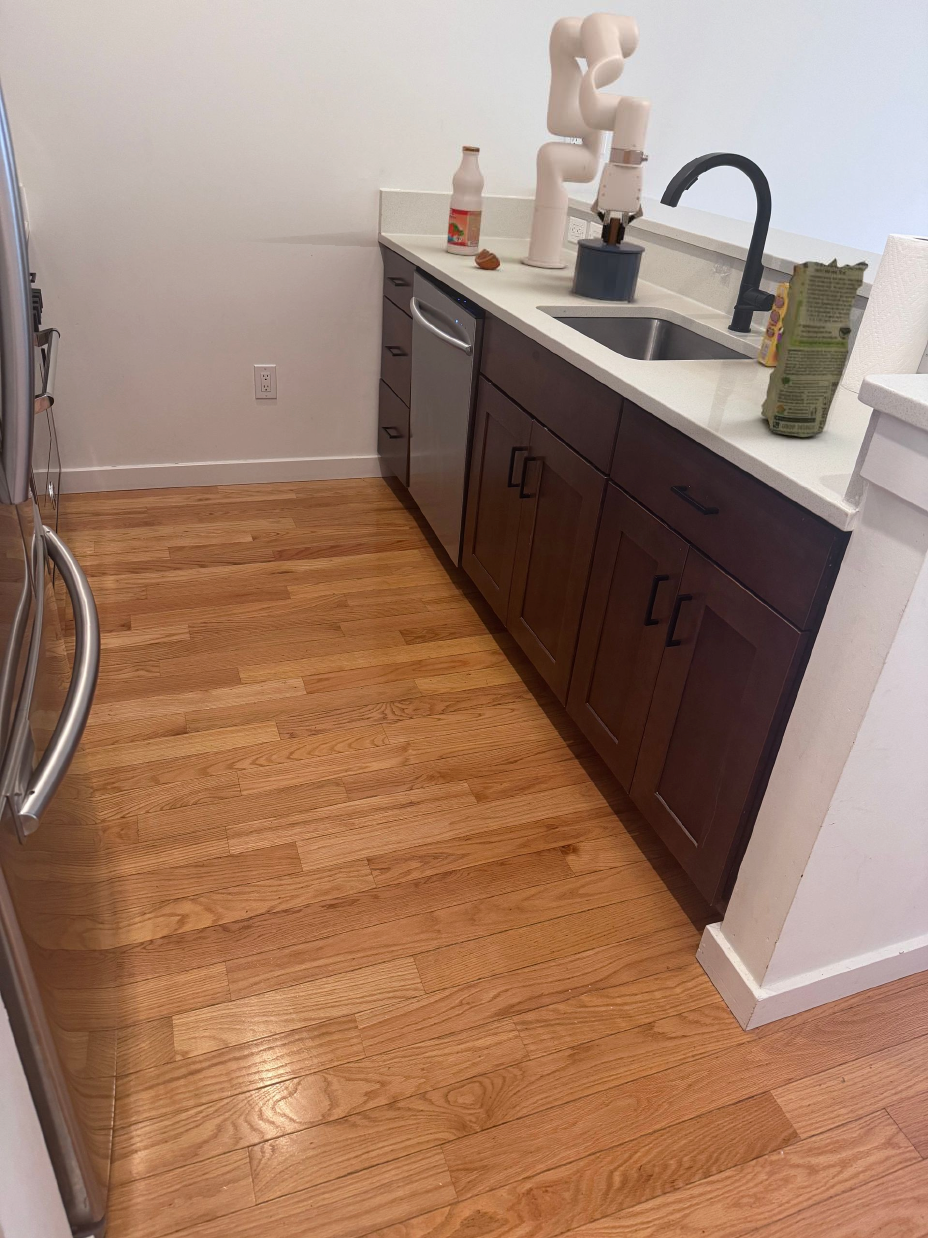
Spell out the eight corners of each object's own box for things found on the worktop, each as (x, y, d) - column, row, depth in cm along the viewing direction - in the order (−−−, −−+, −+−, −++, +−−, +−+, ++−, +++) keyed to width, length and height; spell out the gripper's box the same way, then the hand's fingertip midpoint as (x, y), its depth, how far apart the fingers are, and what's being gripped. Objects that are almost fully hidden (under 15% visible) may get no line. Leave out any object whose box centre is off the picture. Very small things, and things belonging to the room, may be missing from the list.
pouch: (748, 430, 135) (795, 257, 122) (755, 410, 144) (798, 248, 132) (823, 445, 132) (879, 269, 119) (825, 424, 141) (876, 259, 129)
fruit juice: (480, 256, 258) (490, 149, 244) (448, 254, 257) (457, 146, 242) (474, 251, 266) (484, 147, 252) (444, 248, 264) (452, 143, 250)
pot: (568, 287, 227) (575, 240, 221) (628, 293, 228) (637, 246, 222) (574, 299, 214) (582, 249, 208) (638, 306, 214) (647, 255, 208)
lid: (573, 241, 222) (578, 210, 218) (638, 247, 222) (643, 217, 219) (580, 251, 208) (585, 217, 204) (649, 258, 208) (655, 225, 205)
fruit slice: (503, 273, 236) (505, 254, 234) (480, 272, 234) (482, 252, 232) (492, 267, 243) (494, 248, 240) (470, 266, 241) (471, 247, 238)
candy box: (767, 367, 172) (789, 285, 164) (756, 361, 175) (777, 280, 168) (807, 368, 174) (830, 288, 166) (795, 362, 177) (818, 283, 170)
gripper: (656, 160, 208) (641, 243, 218) (589, 153, 208) (577, 237, 217) (662, 162, 202) (646, 248, 211) (593, 155, 201) (580, 241, 211)
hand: (611, 242), depth 214 cm, fingers closed on lid, 2 cm apart
